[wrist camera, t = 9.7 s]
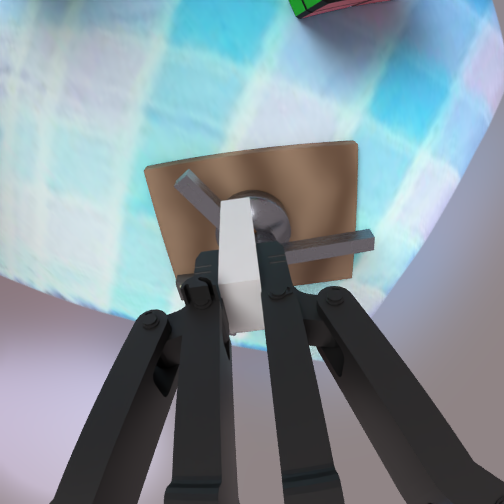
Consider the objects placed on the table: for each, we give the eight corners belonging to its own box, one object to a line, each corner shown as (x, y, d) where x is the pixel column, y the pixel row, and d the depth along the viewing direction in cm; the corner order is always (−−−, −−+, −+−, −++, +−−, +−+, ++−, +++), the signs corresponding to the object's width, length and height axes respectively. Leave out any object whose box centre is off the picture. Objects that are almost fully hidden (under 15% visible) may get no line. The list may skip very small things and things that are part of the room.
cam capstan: (362, 217, 32) (390, 262, 26) (230, 304, 38) (229, 357, 32) (268, 93, 25) (278, 108, 19) (127, 217, 31) (102, 264, 25)
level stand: (183, 291, 39) (179, 314, 35) (146, 166, 30) (135, 181, 26) (349, 271, 38) (358, 293, 35) (353, 140, 29) (367, 152, 26)
